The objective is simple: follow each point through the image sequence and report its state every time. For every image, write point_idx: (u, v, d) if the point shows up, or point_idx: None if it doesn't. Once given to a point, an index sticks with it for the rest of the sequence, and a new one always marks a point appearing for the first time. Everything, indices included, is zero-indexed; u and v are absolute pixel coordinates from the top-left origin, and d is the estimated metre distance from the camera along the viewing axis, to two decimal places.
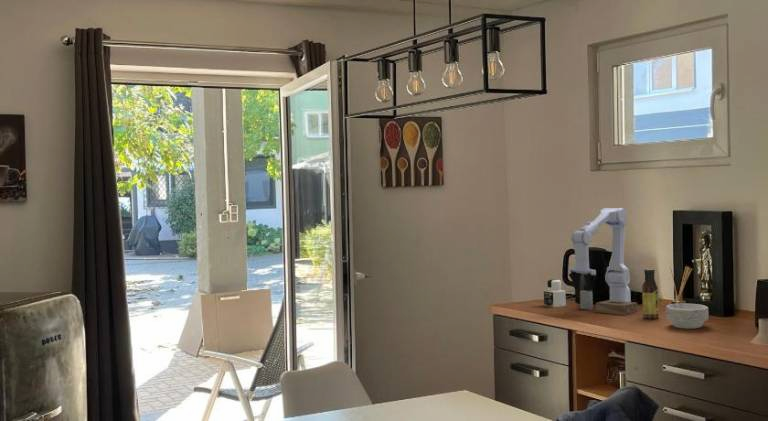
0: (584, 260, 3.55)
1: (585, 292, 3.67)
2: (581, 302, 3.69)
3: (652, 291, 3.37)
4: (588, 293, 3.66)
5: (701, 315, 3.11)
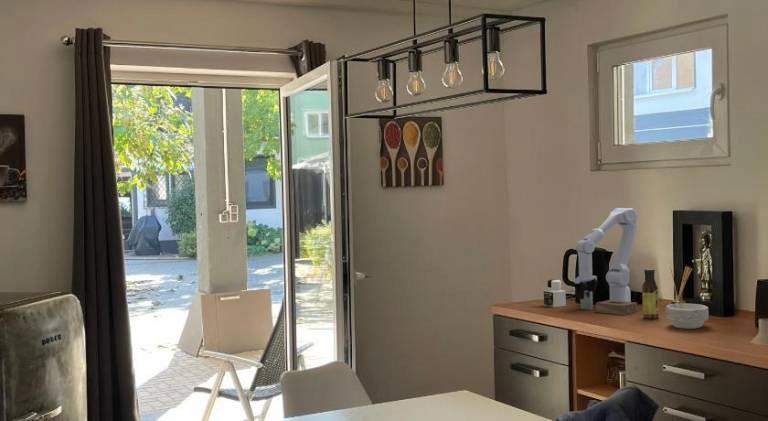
0: (580, 268, 3.67)
1: (585, 292, 3.67)
2: (581, 302, 3.69)
3: (652, 291, 3.37)
4: (588, 293, 3.66)
5: (701, 315, 3.11)
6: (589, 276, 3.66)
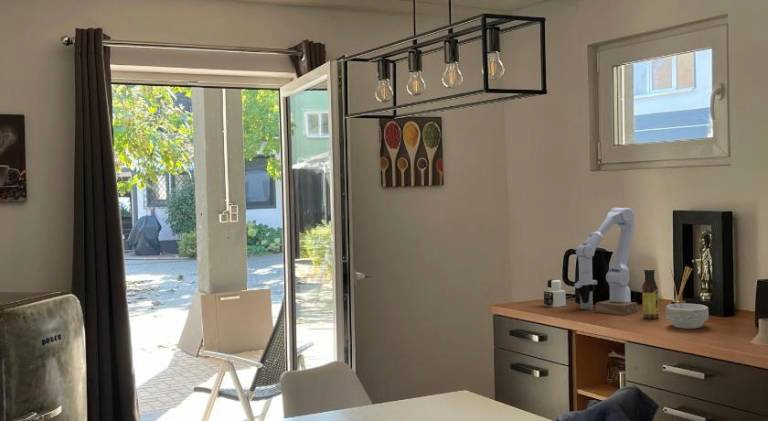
0: (580, 273, 3.67)
1: None
2: (581, 302, 3.69)
3: (652, 291, 3.37)
4: (588, 293, 3.66)
5: (701, 315, 3.11)
6: (589, 281, 3.66)
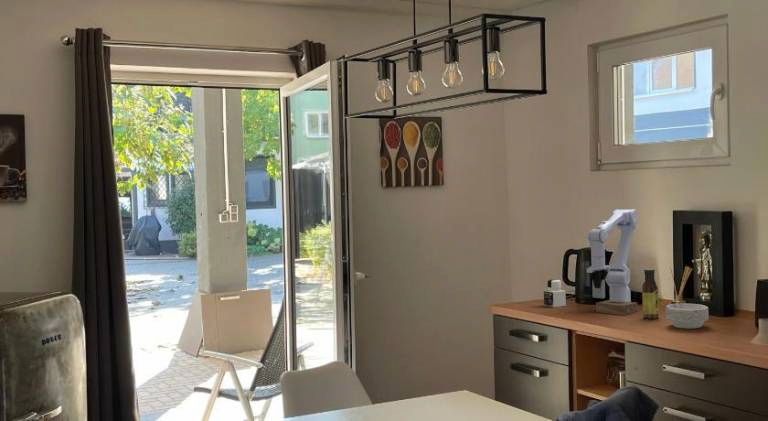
0: (592, 258, 3.62)
1: None
2: (593, 290, 3.64)
3: (652, 291, 3.37)
4: (600, 281, 3.61)
5: (701, 315, 3.11)
6: (602, 265, 3.60)
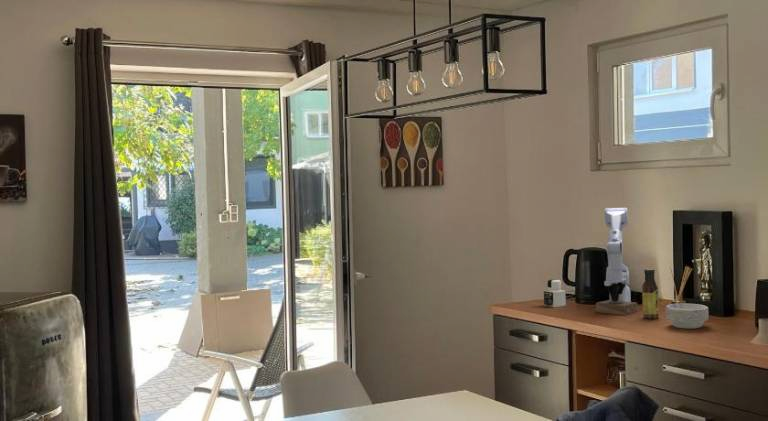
0: (610, 270, 3.56)
1: None
2: None
3: (652, 291, 3.37)
4: (618, 296, 3.55)
5: (701, 315, 3.11)
6: (619, 278, 3.54)
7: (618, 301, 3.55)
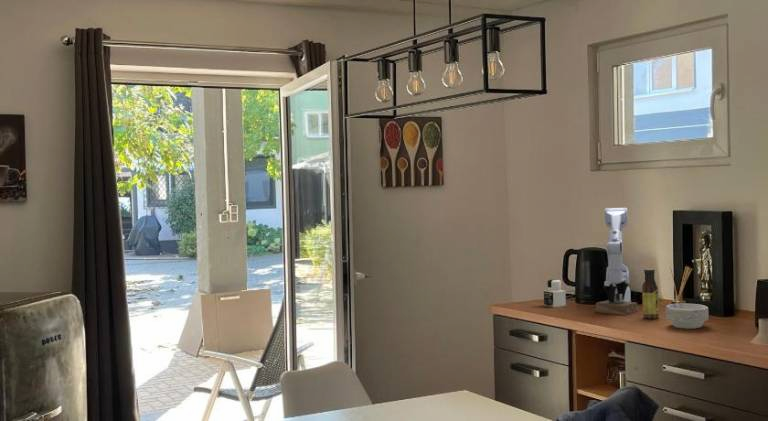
0: (610, 270, 3.56)
1: (615, 294, 3.57)
2: None
3: (652, 291, 3.37)
4: (618, 296, 3.55)
5: (701, 315, 3.11)
6: (619, 278, 3.54)
7: (618, 301, 3.56)
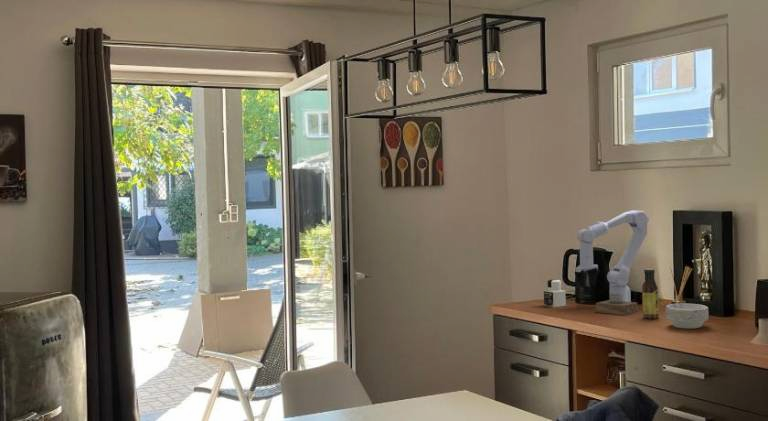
0: (581, 257, 3.71)
1: (615, 294, 3.57)
2: None
3: (652, 291, 3.37)
4: (618, 296, 3.55)
5: (701, 315, 3.11)
6: (590, 265, 3.70)
7: (618, 301, 3.55)
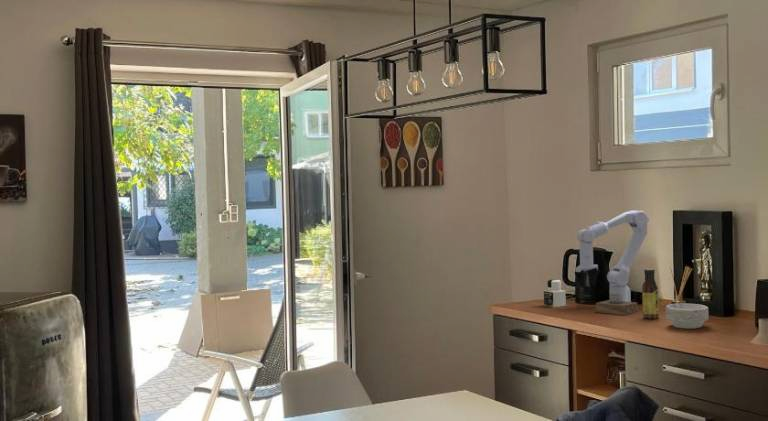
0: (581, 257, 3.71)
1: (615, 295, 3.57)
2: None
3: (652, 291, 3.37)
4: (618, 296, 3.55)
5: (701, 315, 3.11)
6: (590, 265, 3.70)
7: (618, 301, 3.55)
